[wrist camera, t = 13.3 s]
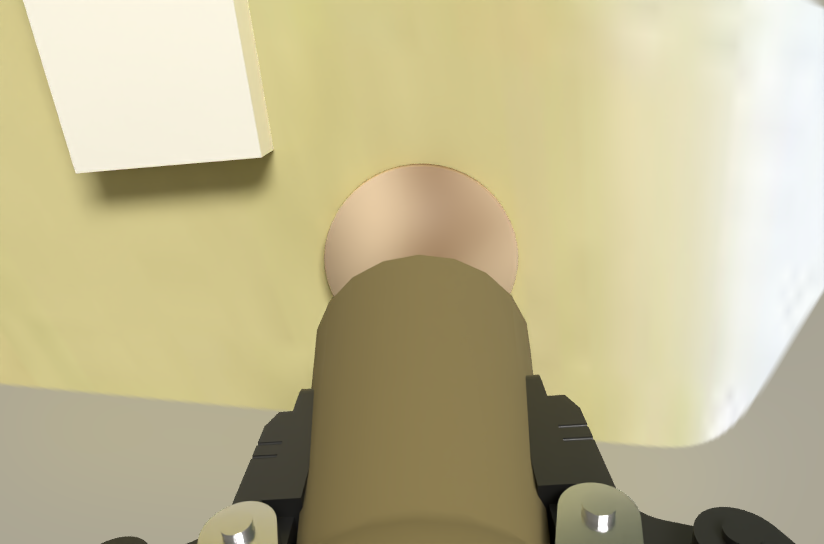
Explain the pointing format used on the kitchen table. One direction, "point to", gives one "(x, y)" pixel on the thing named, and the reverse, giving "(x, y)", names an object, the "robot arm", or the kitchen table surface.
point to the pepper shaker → (421, 412)
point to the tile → (152, 81)
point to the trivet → (420, 224)
